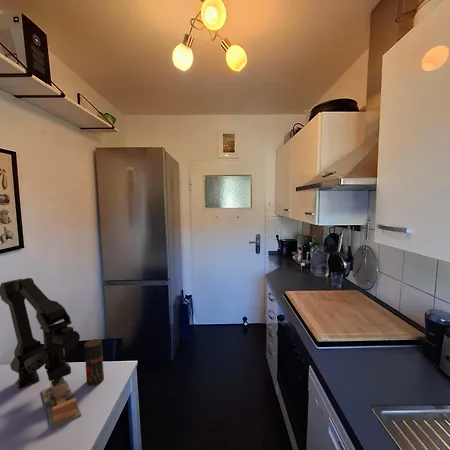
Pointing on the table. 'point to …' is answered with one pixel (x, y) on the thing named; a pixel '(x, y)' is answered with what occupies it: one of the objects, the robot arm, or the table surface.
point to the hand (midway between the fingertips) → (57, 385)
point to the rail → (61, 409)
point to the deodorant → (94, 362)
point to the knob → (58, 390)
